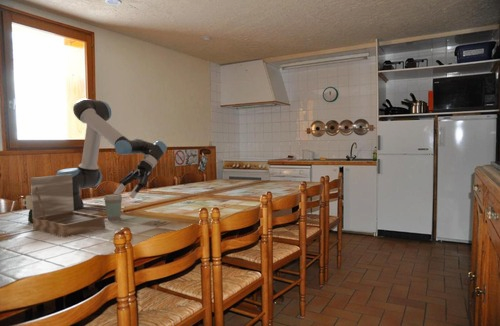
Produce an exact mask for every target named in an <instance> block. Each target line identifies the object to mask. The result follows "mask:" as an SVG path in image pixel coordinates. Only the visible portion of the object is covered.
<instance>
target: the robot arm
mask: <svg viewBox="0 0 500 326" xmlns="http://www.w3.org/2000/svg"><path fill="white" fill-rule="evenodd" d="M72 111H73V114H74V116H75V118H77V119H78V120H79V121H80V122H81V123H82V124H86V129H85V136H84V144H83V150H82V157H81V162H80V164H78V166H77V167H70V168H64V169H60V170H57V172H56V175H55V176H58V175H69V174H72V184H73V205H74V211H79V210H82V209H84V208H85V203H84V201H83V199H82V197H81V190H83V189H91V188H94V187H97V186H99V184H100V183H102V182H101V181H102V179H103V173H101V170H100V167H99V165H98V160H99V152H100V146H101V139H102V138H104V139H105V140H107V142H108V143H110V144H111V145H112V146H113V147H114V151H115V153H116V154H118V155H120V156H121V155H123V156H126V155H127V156H128V155H144V156H143V157H142V158H141V160H140V161H139V163H138V164H137V165H136V166H137V167H136V168H137V169H136V170H135V169H132V170H131V171H130V172H129V173H128V174H126V175H125V177H123V178H122V179H121V180H120V181H119V183H120V185H119V186H118V187H117V188H116V190H115V191H114V192H113V194H121V193H122V192H123V190H124V189H125V188H126V186H127V185H129V184H130V183H131V182H133V181H135V180H138V183H137V184H136V185H135V186H134V188H133V189H132V190H131V192H130V193H129V197H130V198H132V199H135V198H136V196H137V194H138V193H139V192H140V191H141V189H143V188H146V187H147V184H148V181H149V177H150V176H151V175H152V173H151V172H152V170H153V169H154V168H155V166H156V165H157V164H158V162H159V161H160V159H161V158H162V157H163V156H164V155H165V153H166V151H167V149H168V147H167V145H166V143H164V142H163V141H161V140H156V141H155V142H154V143H153V142H149V141H145V140H143V139H139V138H135V139H133V140H130V139H129V138H128V137H126V136H124V135H123V133H121V132H120V131H119V130H117V129H116V128H115V127H113V126H112V125H111V124H110V123H109V122H107V121H109V120H110V119H111V117H112V108H111V106H110V105H109V104H108V103H107V102H105V101H103V100H97V99H89V98H81V99H79V100H77V101H76V102H75V103H74V104H73V108H72Z"/></svg>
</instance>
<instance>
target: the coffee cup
mask: <svg viewBox="0 0 500 326" xmlns="http://www.w3.org/2000/svg"><path fill="white" fill-rule="evenodd" d="M103 200H104V205H105V206H104V207H105V211H106V216H107V217H106V218H107V220H108V221H118V220H121V214H122V213H121V211H122V200H123V197H122V194H121V193H120V194H114V193H112V194H106V195H104V198H103Z"/></svg>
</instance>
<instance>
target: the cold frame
mask: <svg viewBox="0 0 500 326" xmlns="http://www.w3.org/2000/svg"><path fill="white" fill-rule="evenodd" d="M29 180H30V193H31V194H30V195H31V198H32V216H33V222H32V229H33V230H34V229H35V231H39V232H42V233H45V234H49V233H50V235H53V234H54V236H57V235H58V237H61V236H62V237H61V238H69V237H72V235H73V236H76V235H82V234H84V233H85V234H86V233H89V232H93V231H97V230H101V229H105V228H106V221H105V219H106V218H105V216H104V215H97V214H92V213H87V212H82V211H81V212H80V211H77V210H74V205H73V184H72V174H69V175H58V176H56V175H49V176H48V175H47V176H39V177H38V176H37V177H30V179H29ZM68 236H69V237H68Z"/></svg>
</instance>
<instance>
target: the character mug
mask: <svg viewBox="0 0 500 326" xmlns="http://www.w3.org/2000/svg"><path fill="white" fill-rule="evenodd" d="M22 206H23V207H26V209H27V210H29V212H28V216H27V222H30V223H33V216H32V198H31V194H29V195H26V196H25V198H24V199H22Z"/></svg>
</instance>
